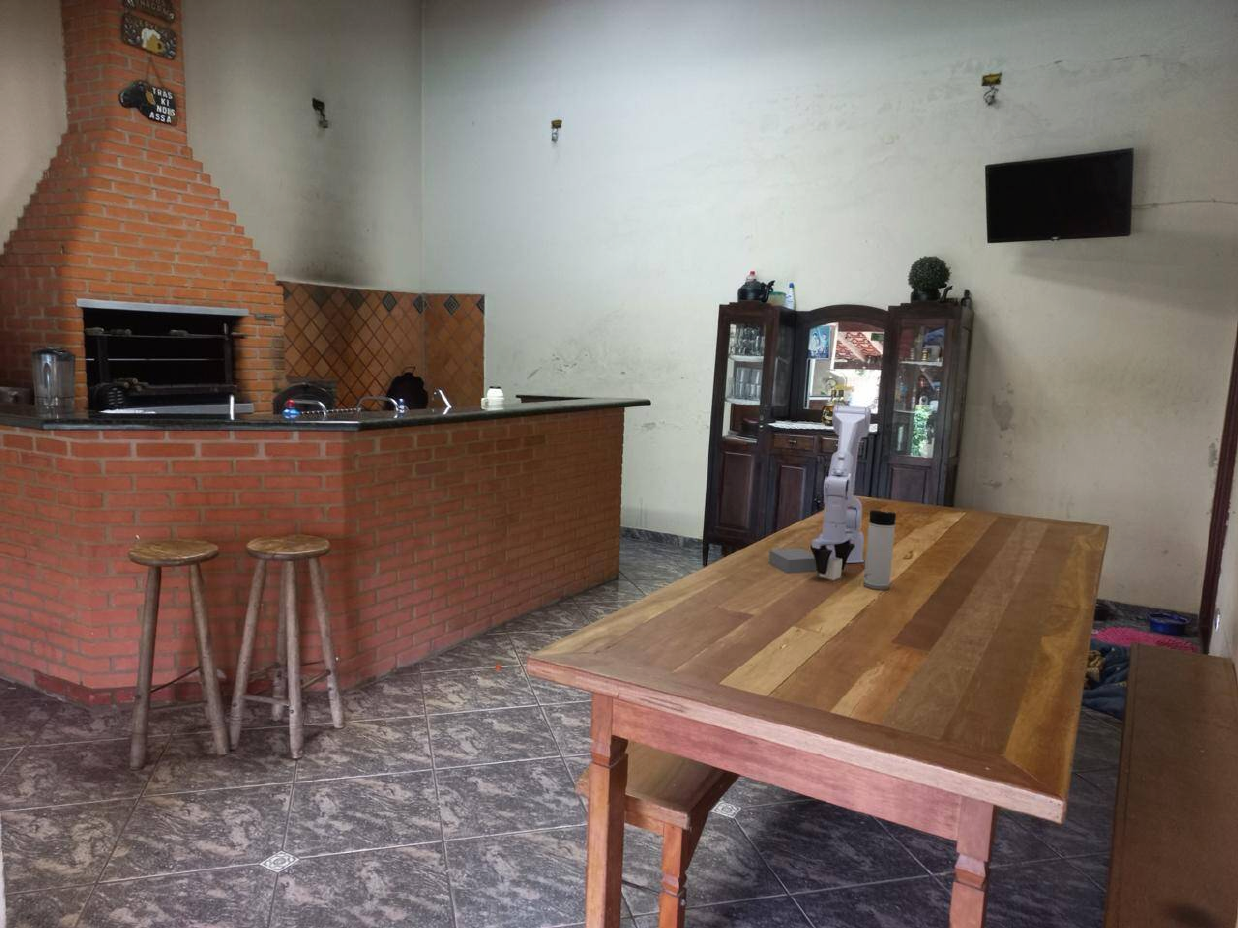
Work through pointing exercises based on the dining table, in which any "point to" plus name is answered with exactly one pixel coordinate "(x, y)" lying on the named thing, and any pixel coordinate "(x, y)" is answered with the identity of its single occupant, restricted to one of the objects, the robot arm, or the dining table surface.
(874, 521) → the travel mug
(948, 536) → the dining table surface
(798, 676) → the dining table surface
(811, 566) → the base block
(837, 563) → the top block
